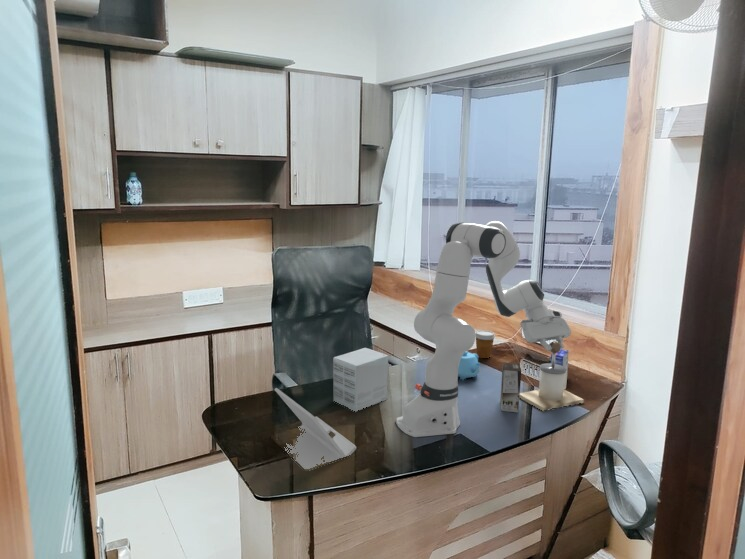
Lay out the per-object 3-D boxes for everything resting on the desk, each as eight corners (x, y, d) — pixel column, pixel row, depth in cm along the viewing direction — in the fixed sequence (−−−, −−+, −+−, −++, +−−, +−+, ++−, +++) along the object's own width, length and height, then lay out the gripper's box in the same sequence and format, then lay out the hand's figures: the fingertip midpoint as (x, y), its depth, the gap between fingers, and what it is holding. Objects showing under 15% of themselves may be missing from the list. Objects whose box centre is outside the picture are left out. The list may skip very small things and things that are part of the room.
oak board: (542, 411, 191) (542, 407, 191) (517, 397, 204) (518, 393, 204) (583, 403, 199) (583, 399, 199) (557, 389, 212) (557, 386, 212)
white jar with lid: (549, 403, 195) (552, 373, 193) (532, 393, 204) (534, 365, 202) (572, 398, 200) (575, 369, 197) (554, 389, 208) (557, 361, 206)
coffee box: (518, 412, 190) (521, 371, 187) (500, 411, 191) (503, 369, 188) (517, 402, 199) (520, 362, 196) (499, 401, 200) (502, 361, 197)
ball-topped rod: (552, 369, 196) (554, 344, 194) (544, 366, 200) (546, 340, 198) (561, 368, 198) (563, 342, 196) (553, 364, 202) (555, 339, 200)
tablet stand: (305, 472, 149) (305, 417, 146) (268, 437, 169) (267, 388, 166) (357, 454, 160) (358, 402, 157) (317, 423, 180) (316, 377, 177)
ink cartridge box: (554, 374, 229) (557, 342, 226) (567, 376, 226) (570, 345, 223) (548, 381, 221) (551, 348, 218) (562, 384, 218) (565, 351, 215)
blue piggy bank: (442, 379, 221) (443, 354, 219) (449, 368, 234) (450, 344, 232) (478, 384, 216) (480, 358, 214) (483, 373, 229) (484, 348, 227)
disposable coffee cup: (473, 359, 247) (475, 335, 245) (473, 352, 256) (474, 329, 254) (494, 360, 245) (495, 336, 243) (493, 354, 255) (494, 330, 252)
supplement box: (364, 389, 209) (365, 346, 206) (388, 399, 200) (389, 355, 196) (332, 401, 197) (332, 356, 194) (355, 413, 188) (356, 365, 184)
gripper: (523, 316, 198) (538, 348, 191) (564, 311, 206) (580, 342, 199) (514, 324, 202) (529, 356, 195) (555, 319, 211) (570, 350, 204)
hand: (555, 349), depth 197 cm, fingers closed on ball-topped rod, 4 cm apart
